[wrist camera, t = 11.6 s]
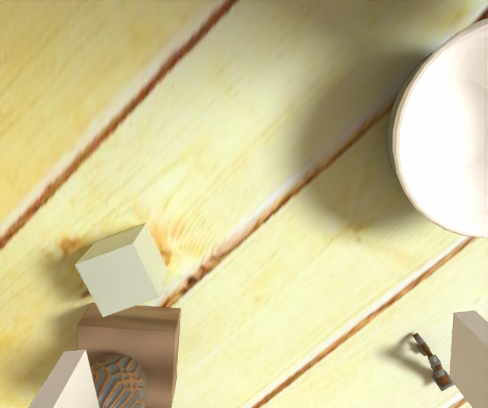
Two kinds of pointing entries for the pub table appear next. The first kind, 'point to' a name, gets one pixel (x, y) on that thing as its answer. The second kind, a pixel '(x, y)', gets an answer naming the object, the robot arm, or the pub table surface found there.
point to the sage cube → (123, 270)
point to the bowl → (446, 134)
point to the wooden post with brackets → (434, 365)
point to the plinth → (137, 344)
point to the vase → (119, 382)
